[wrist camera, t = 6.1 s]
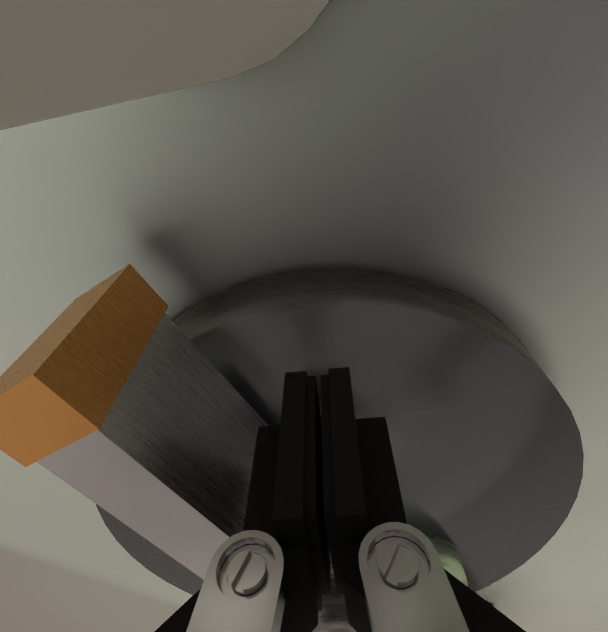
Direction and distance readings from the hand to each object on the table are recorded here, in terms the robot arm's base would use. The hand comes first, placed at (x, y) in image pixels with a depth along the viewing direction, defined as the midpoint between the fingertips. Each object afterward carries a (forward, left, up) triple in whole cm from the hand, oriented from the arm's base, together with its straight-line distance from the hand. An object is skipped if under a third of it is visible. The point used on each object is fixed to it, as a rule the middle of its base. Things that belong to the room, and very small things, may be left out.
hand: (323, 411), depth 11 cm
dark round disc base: (+7, 0, -5) cm, 8 cm away
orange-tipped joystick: (+3, -2, -2) cm, 4 cm away
